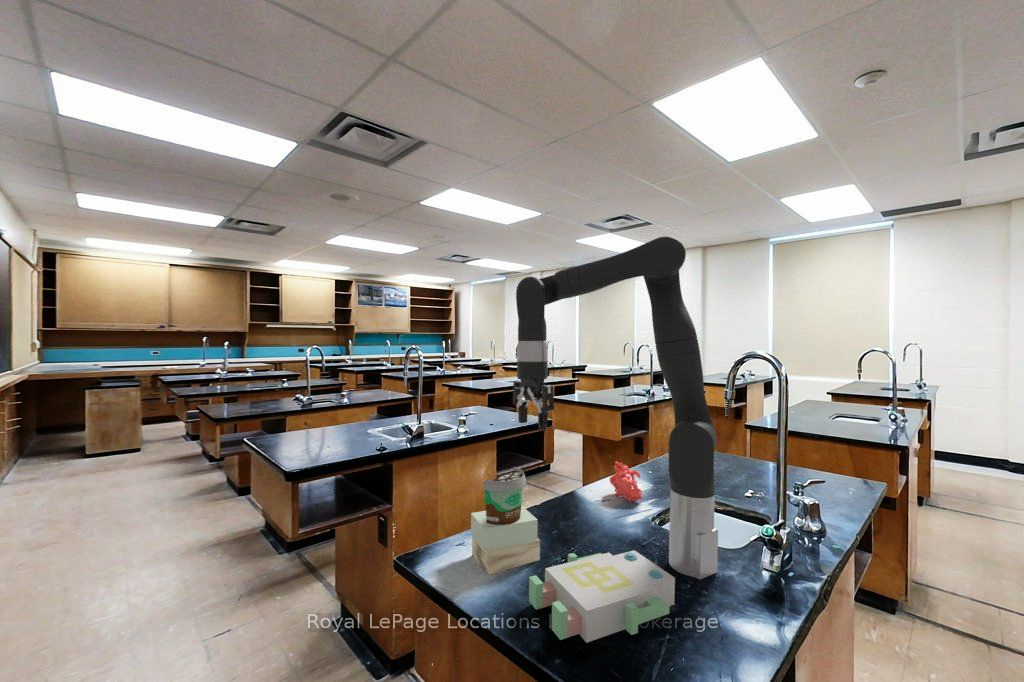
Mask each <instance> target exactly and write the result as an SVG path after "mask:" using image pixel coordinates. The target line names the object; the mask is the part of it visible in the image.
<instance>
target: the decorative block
mask: <svg viewBox="0 0 1024 682" xmlns="http://www.w3.org/2000/svg"><path fill="white" fill-rule="evenodd" d="M528 578H529V580H528V587H529V588H528V602H529V603H530V604H531V605H532V606H533V608H534V609H535V610H536V611H538V610H540V609H543V608H547V607H550V606H551V630H552V632H553V633H554V634H555V636H557V638H558V639H559V641H561V640H564V639H568V638H570V637H573V636H576V635H579V636H580V637H581V638H582V640H583V641H584V642H585V643H586V644H587V643H590V642H592V641H595V640H598V639H601V638H604V637H608V636H610V635H612V634H615V633H618V632H621V631H626V632H627V633H629V634H630V635H631V636H632V635H636V634H638V633H639V625H641V624H644V623H646V622H649V621H652V619H653V620H655V619H658V618H660V617H664V616H666V615H670V608H671V607H672V606H671V605H674V606H675V596H676V595H675V589H676V578H675V577H674V576H673V575H672V574H670V572H667V571H665V570H664V569H663V568H661V567H660V566H658V565H657V564H656V563H653V561H651V560H649V559H648V558H646V557H645V556H644V555H643V554H640V553H639V552H638V551H636V550H631V551H627V552H621V553H618V554H614V555H613V554H612V553H610V552H606V553H602V552H598V553H595V554H590V555H586V556H581V557H578V555H576V553H574V552H573V553H568V554H567V562H565V563H561V564H557V565H553V566H549V567H546V568H544V582H543V581H542V580H541V579H540V578H539V577H538V576H537V575H535V574H534V575H532V576H529V577H528ZM670 606H671V607H670Z"/></svg>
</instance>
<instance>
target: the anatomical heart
mask: <svg viewBox="0 0 1024 682" xmlns="http://www.w3.org/2000/svg"><path fill="white" fill-rule="evenodd" d="M614 463H615V465H614V467H613V468H614V471H615V473H614V474H613V475H611V476H610V477H609V482H610V483H611V486H613V488H614V491H615V493H614V496H615V497H618V496H619V497H620V498H621V497H622V496H623V498H624V500H625V501H629V503H632V502H638V501H639V500H642V499H643V498H642V494H643V491H642V490H641V488H639V487H638V482H637V480H635V476H636V477H637V478H638V479H641V473H640V472H639V471H638V470H637V469H635V470H630V469H629V467H628V465H627V464H623V462H619V461H615V462H614Z"/></svg>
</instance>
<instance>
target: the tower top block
mask: <svg viewBox="0 0 1024 682" xmlns="http://www.w3.org/2000/svg"><path fill="white" fill-rule="evenodd" d="M470 515H471V516H470V535H471V537H472V536H473V538H474V539H475V541H476V542H477V543H478V545H479V546H480V548H481V549H482V551H483V552H487V551H492V550H497V549H502V548H507V547H512V546H517V545H522V544H527V543H532V542H537V538H538V525H539V523H538V522H539V521H538V520H539V519H538V518H536V517H535V516H534V515H533V514H532V513H531V512H530V511H529V510H527V509H526V507H524V506H523V505H522V504H521V514H520V519H519V520H518V521H517V522H515V523H512V524H506V525H495V524H489V523H486V510H481V511H476V512H471V513H470Z"/></svg>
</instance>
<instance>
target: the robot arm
mask: <svg viewBox="0 0 1024 682" xmlns="http://www.w3.org/2000/svg"><path fill="white" fill-rule="evenodd" d="M686 256H687V255H686V249H685V246H684V244H683V242H682V241H680V240H679V239H677V238H676V237H674V236H668V235H667V236H666V235H664V236H663V235H662V236H660V237H656V238H654V239H652V240H650V241H647V242H645V243H643V244H641V245H639V246H636V247H634V248H632V249H629V250H627V251H624V252H621V253H618V254H615V255H612V256H609V257H606V258H601V259H598V260H594V261H590V262H586V263H584V264H579V265H577V266H572V267H568V268H564V269H560V270H559V271H556V272H555V273H554V274H552V275H549V276H544V277H542V278H538V277H535V276H527V277H524V278H522V279H521V280H520V281H519V283H518V284H517V286H516V289H515V290H516V291H515V301H516V302H515V303H516V310H517V311H516V312H517V318H518V321H517V322H518V324H517V325H518V327H517V347H516V377H517V379H518V380H517V381H516V380H515V381H513V388H512V389H513V390H512V404H513V405H516V408H517V409H518V423H520V424H525V423H527V422H528V405H529V403H530V402H532V403H533V405H534V406H536V409H537V412H538V413H537V415H538V416H537V424H538V426H537V427H538V429H540V430H544V429H547V428H548V425H549V418H548V417H549V415H548V414H549V412H553V411H554V410H555V402H554V401H555V399H554V396H555V395H554V394H555V393H554V385H553V384H547V385H546V384H545V380H547V379H548V376H549V375H548V374H549V372H548V371H549V369H548V368H549V367H548V358H549V357H548V355H549V353H548V350H549V349H548V343H547V322H546V318H545V311H546V310H545V306H547V305H550V304H552V303H556V302H558V301H560V300H565V299H570V298H574V297H578V296H582V295H586V294H587V295H588V294H590V293H593V292H596V291H599V290H602V289H604V288H606V287H609V286H611V285H614V284H617V283H619V282H623V281H625V280H630V279H634V278H638V277H643V280H644V283H645V286H646V289H647V293H648V298H649V301H650V305H651V306H650V307H651V318H652V319H651V320H652V328H653V329H652V330H653V334H654V335H653V336H654V343H655V348H656V354H657V360H658V364H659V365H658V366H659V368H660V371H661V373H662V376H663V379H664V381H665V384H666V386H667V387H668V391H669V393H670V394H669V395H671V400H672V406H673V413H674V414H673V415H674V427H673V428H672V430H671V432H670V434H669V439H668V476H669V480H670V484H669V485H670V487H669V489H670V490H669V492H670V493H669V530H668V531H669V532H668V533H669V537H668V538H669V539H668V540H669V541H668V543H669V544H668V545H669V546H668V550H669V551H668V563H669V566H670V567H671V568H672V569H673V570H674V571H676V572H678V573H680V574H682V575H685V576H688V577H692V578H696V579H698V580H703V579H705V578H708V577H709V576H712V575H714V574H716V573H717V574H718V564H719V563H718V557H719V556H718V555H719V553H718V551H719V530H718V529H717V528H715V497H716V496H715V492H716V483H715V471H714V470H715V449H716V446H717V443H718V441H717V440H718V438H717V433H716V429H715V425H714V423H713V420H712V417H711V413H710V411H709V407H708V404H707V403H708V402H707V399H706V393H705V384H704V372H703V371H704V370H703V365H702V363H703V362H702V357H701V352H700V345H699V339H698V335H697V331H696V327H695V325H694V322H693V320H692V318H691V316H690V314H689V311H688V309H687V307H686V304H685V302H684V299H683V295H682V290H681V289H682V288H681V280H680V269H681V268H682V266H683V265H684V263H685V260H686Z"/></svg>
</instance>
